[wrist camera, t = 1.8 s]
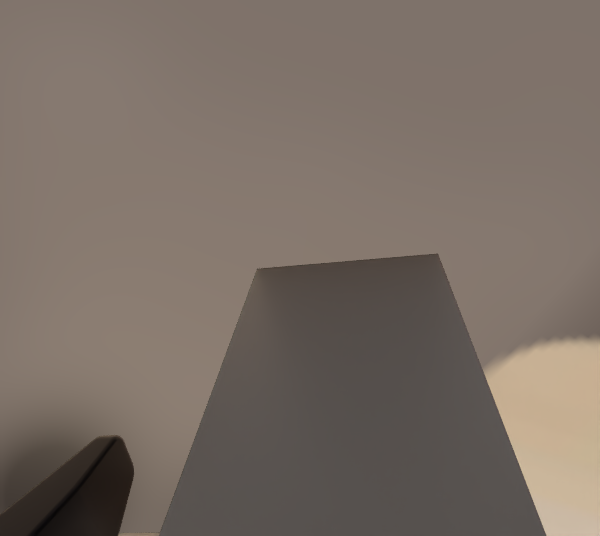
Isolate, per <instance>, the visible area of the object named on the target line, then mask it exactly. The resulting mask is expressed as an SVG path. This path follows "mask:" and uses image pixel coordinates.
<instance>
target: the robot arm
mask: <svg viewBox="0 0 600 536" xmlns="http://www.w3.org/2000/svg"><path fill="white" fill-rule="evenodd" d="M133 477H134V468H133V463H132V461H131V458H130V456H129V453H128V451H127V448H126V446H125V443H124V441H123V439H122V438H121V437H120V436H117V435H109V436H99V437H97V438H96V439H94V440H93V441H92V442H90V443H89V444H88V445H87V446H85V447H84V448H83V449H82V450H80V451H79V452H78V453H77V454H75V455H74V456H73V457H72V458H70V459H69V460H68V461H67V462H65V463H64V464H63V465H62V466H60V467H59V468H58V469H57V470H55V471H54V472H53V473H52V474H50V475H49V476H48V477H47V478H45V479H44V480H43V481H41V482H40V483H39V484H38V485H36V486H35V487H34V488H33V489H31V490H30V491H29V492H28V493H26V494H25V495H24V496H23V497H21V498H20V499H19V500H18V501H16V502H15V503H14V504H13V505H11V506H10V507H9V508H8V509H6V510H5V511H4V512H3V513H1V514H0V536H118V534H119V531H120V527H121V523H122V519H123V515H124V512H125V508H126V504H127V500H128V496H129V493H130V488H131V485H132V481H133Z"/></svg>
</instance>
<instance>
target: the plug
mask: <svg viewBox="0 0 600 536" xmlns="http://www.w3.org/2000/svg"><path fill="white" fill-rule="evenodd" d="M159 536H546V534H545V531H544V528H543V526H542V523H541V521H540V518H539V515H538V513H537V510H536V508H535V505H534V502H533V500H532V497H531V495H530V492H529V489H528V487H527V484H526V482H525V479H524V476H523V474H522V471H521V469H520V466H519V463H518V461H517V458H516V456H515V453H514V450H513V448H512V445H511V443H510V440H509V437H508V435H507V432H506V430H505V427H504V424H503V422H502V419H501V417H500V414H499V411H498V409H497V406H496V404H495V401H494V398H493V396H492V393H491V391H490V388H489V385H488V383H487V380H486V378H485V375H484V372H483V370H482V367H481V365H480V362H479V359H478V357H477V355H476V352H475V349H474V346H473V344H472V342H471V339H470V336H469V333H468V331H467V328H466V326H465V323H464V321H463V318H462V315H461V313H460V310H459V307H458V305H457V302H456V300H455V298H454V295H453V292H452V290H451V287H450V285H449V282H448V279H447V276H446V274H445V271H444V268H443V266H442V263H441V261H440V258H439V256H438V254H429V255H417V256H405V257H393V258H381V259H370V260H357V261H345V262H334V263H321V264H309V265H297V266H285V267H274V268H263V269H262V268H261V269H257V271H256V273H255V276H254V279H253V282H252V284H251V287H250V290H249V292H248V295H247V298H246V301H245V303H244V306H243V309H242V311H241V314H240V317H239V320H238V322H237V325H236V328H235V330H234V333H233V336H232V339H231V341H230V344H229V347H228V349H227V352H226V355H225V358H224V360H223V363H222V366H221V369H220V371H219V374H218V377H217V379H216V382H215V385H214V388H213V390H212V393H211V396H210V398H209V401H208V404H207V407H206V409H205V412H204V415H203V418H202V420H201V423H200V426H199V428H198V431H197V434H196V436H195V439H194V442H193V445H192V447H191V450H190V453H189V455H188V458H187V461H186V464H185V466H184V469H183V472H182V474H181V477H180V480H179V483H178V486H177V488H176V491H175V493H174V496H173V499H172V502H171V504H170V507H169V510H168V512H167V515H166V518H165V521H164V523H163V526H162V529H161V532H160V534H159Z"/></svg>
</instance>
